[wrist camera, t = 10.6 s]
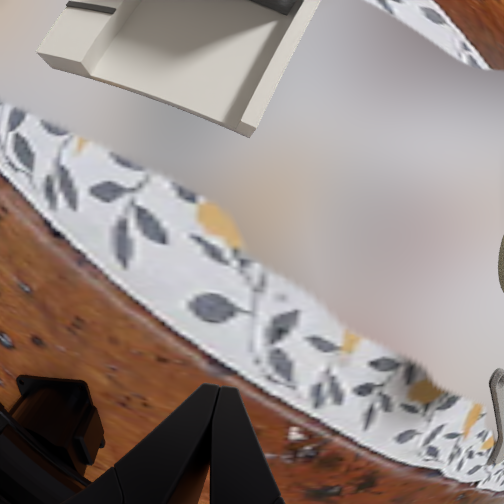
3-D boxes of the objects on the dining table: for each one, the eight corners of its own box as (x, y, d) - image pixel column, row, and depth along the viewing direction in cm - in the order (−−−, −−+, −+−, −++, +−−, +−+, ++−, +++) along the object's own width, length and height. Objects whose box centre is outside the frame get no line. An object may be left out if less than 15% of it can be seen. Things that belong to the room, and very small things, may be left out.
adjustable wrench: (486, 378, 28) (495, 383, 26) (515, 343, 28) (525, 347, 26) (490, 463, 32) (495, 468, 31) (514, 438, 33) (520, 442, 31)
